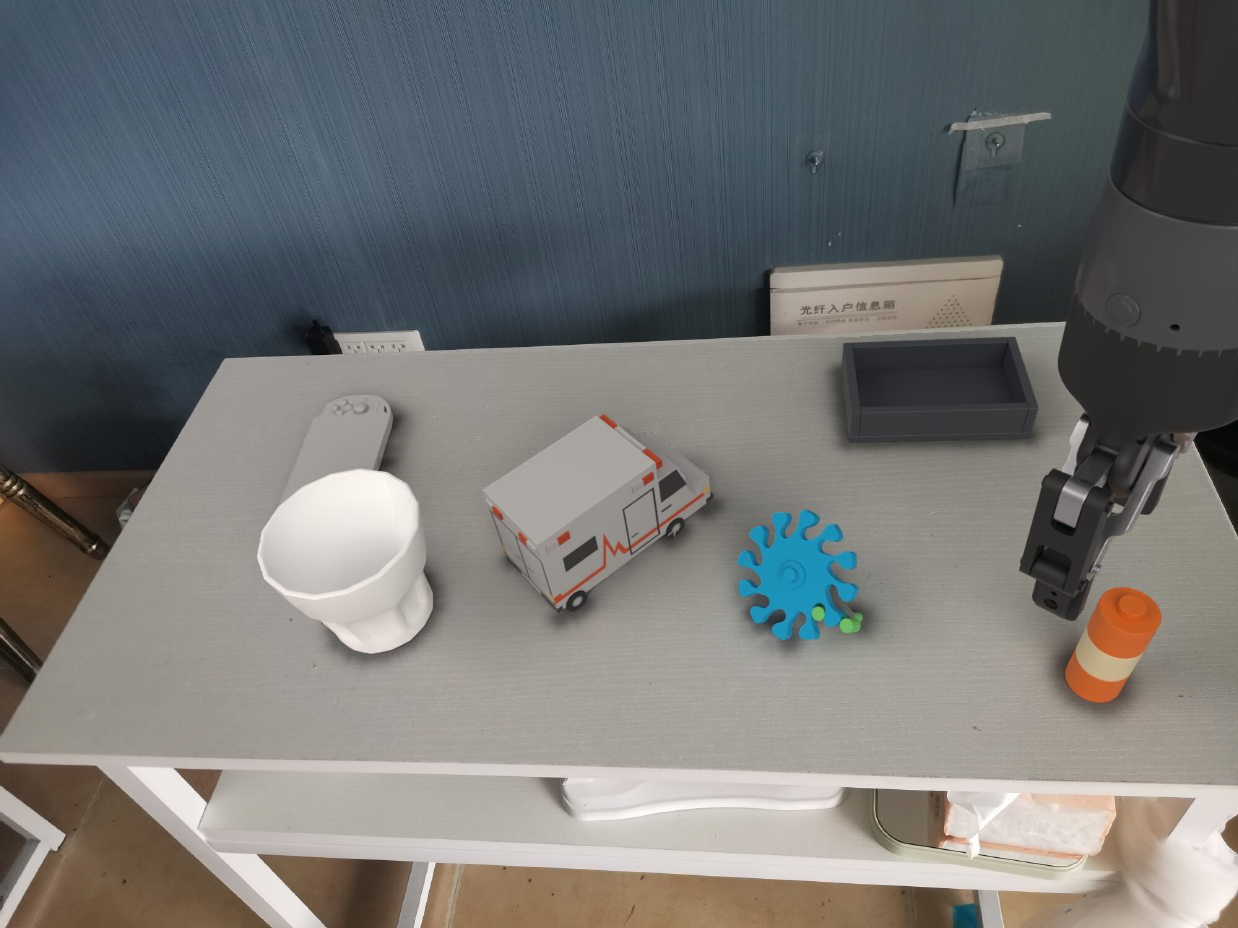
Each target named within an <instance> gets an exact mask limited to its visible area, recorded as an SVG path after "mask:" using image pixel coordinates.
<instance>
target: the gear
mask: <svg viewBox="0 0 1238 928" xmlns="http://www.w3.org/2000/svg"><path fill="white" fill-rule="evenodd" d="M820 519H821V518H820V516H819V515H818V514H817V513H815V512H814V511H812V510H810V509H802V510H801V511H800V512H799V515H798V523H797V527H796V528H795V530H794V531H793V533H792V534H791V535H790V536H789V537H787V535H786V534H787V533H786V530H787V528H788V527H789V526H790V525H791V523H792V522H793V516H792V514H791V513H789V512H782V511H778V512H773V513H772V515H771V522H772V523H773V525H774V531H775V534H774V535H775V536H774V540H773V544H772V546H770V545H769V542H768V541H769V537H770V531H769V528H768V527H767V526H766V525H757V526H755V527H753V528H752V529H751V530H750V531H749V533H748V535H749V537H750V539H751V540H752V541H754V543H756V544H757V545H758V548H759V550H760V553H761V556H762V557H761V558H762V562H761V564H759V562H758V560H757V556H756V554H755V552H754V551H753V550H749V549H747V550H746V549H744V550H742V551H741V552H740V554H739V556H738V558H737V561H736V562H737V564H738V566H740V567H743V568H748V569H751V570H752V571H753V572H755V573H756V575H757V576H758V577H759V578H760V584H759V586H758V585H757V584H756V583H755V582H754V581H753V580H751V579H741V580H739V582H738V595H739V596H740V597H752V596H753V595H756V594H759V595H760V594H761V595H763V596H765V597H767V598H768V600H769V602H768V603H769V604H768V606H767V607H766V606H763V605H755V606H752V607H751V608H750V609H749V613H750V616H751V618H752V620H753V622H754V623H755V624H764V623H766V622H767V621H768V620H769V618H770V617H771V615H772V614H774V613H775V612H777V611H779V610H780V611H781V610H782V611H783V612H784V613H785V619H784V620H783V621H780V622H777V623H775V624H773V626H772V627H771V632H772V634H773V635H774V636H775V637H777V638H778V639H780V640H782V641H785V640H789V639H790V638H791V637H792V635H793V628H794V623H795V621H796V619H797V618H798V617H799V616H800V615H801V614H802V613H803V614H804V615H805V618H806V620H805V622H804V624H803V625H802V626H801V627H800V628H799V631H798V633H799V634H798V635H799V638H800V639H802V640H806V641H810V640H812V641H813V640H819V639H820V637H821V630H820V629H819V625H818V622H821V621H823V622H824V625H825V626H826V627H827V628H834V629H837V630H839V631H841V632H842V633H844V634H852V633H857V632H859V631H860V629H861V626H862V625H861V622H862V621H863V618H864V617H863V614H862V613H861V612H859V611H858V612H857V611H856V612H854V611H853V610H852V609H851V607H849V606H848V604H847V603H846V602H848V603H849V602H853V601H854V600H855V598H856V597H857V596H858V594H859V591H860V587H859V586H858V585H857V584H855V583H851V582H846V581H843V580H842V579H840V578H839V577H838V576H837V575H836V573H834V571H833V570H832V566H833V564H834V563H837V564H838V566H839V567H841V568H842V569H844V570H855V569H856V568H857V565H858V556H857V555H858V554H857V553H856V552H855V551H842V552H841V553H838V554H835V555H834V554H830V553H826V552H825V550H823V544H824V543H825V542H826V541H827V542H831V543H833V542H834V543H839V542H841V541H843V540H844V538H845V536H844V533H843V531H842V528H840V526H839V525H838V523H829V524H827V525H826V526H825V527H824V529H823V530H822V531H821V533H820V534H819V535H817V536H816V537H814V538H811V539H808V538H807V536H806V532H807V530H808V529H809V528H812V527H816V526H817V525H819V522H820ZM833 586H835V587H836V590H837V592H836V591H835V590H834V589H833V588H832V587H833Z"/></svg>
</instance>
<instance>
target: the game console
mask: <svg viewBox="0 0 1238 928" xmlns="http://www.w3.org/2000/svg"><path fill="white" fill-rule="evenodd" d="M393 422H394V413H393V411H392V408H391V407H390V404H389V403H388V401H386V400H385V399H384V398H382V397H381V396H377V395H374V394H354V395H347V396H342V397H339V398H336V399H334V400H332V401H330V402H327V403H326V404H324V406H323V409H322V410H321V412H320V414H318V415H317V416H316V417H314V418H313V419H311V422H310V424H309V427H308V429H307V432H306V434H305V436H304V439H303V442H302V444H301V446H300V449H299V451H298V454H297V456H296V459H295V462H294V464H293V467H292V470H291V471H290V474H289V477H288V479H287V482H286V484H285V487H284V489H283V492H282V495H281V497H280V499H279V502H278V505H277V508H278V507H279V506H280V505H281V504H282V503H283V502H285V501H286V500H287V499H288V498H289V497H291V496H292V495H293V494H294V493H295V492H297V491H298V490H299V489H300V488H301V487H303V486H305V485H307V484H310V483H312V482H314V481H316V480H318V479H321V478H323V477H325V476H327V475H329V474H333V473H338V472H344V471H349V470H354V469H367V470H375V471H380V467H381V464H382V460H383V457H384V454H385V453H384V452H385V450H386V447H387V444H388V441H389V437H390V434H391V430H392V428H393Z"/></svg>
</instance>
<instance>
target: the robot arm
mask: <svg viewBox="0 0 1238 928" xmlns="http://www.w3.org/2000/svg"><path fill="white" fill-rule="evenodd" d="M1147 15H1148V16H1147V27H1146V31H1145V35H1144V38H1143V40H1142V44H1141V47H1140V49H1139V53H1138V56H1137V59H1136V62H1135V65H1134V67H1133V69H1132V73H1131V78H1130V81H1129V85H1128V88H1127V93H1126V98H1125V102H1124V107H1123V110H1122V115H1121V119H1120V123H1119V126H1118V130H1117V131H1118V132H1117V136H1116V140H1115V144H1114V148H1113V152H1112V157H1111V161H1110V165H1109V168H1108V170H1107V175H1106V178H1105V180H1104V184H1103V187H1102V189H1101V192H1100V193H1099V196H1098V198H1097V201H1096V203H1095V206H1094V209H1093V212H1092V214H1091V216H1090V219H1089V223H1088V227H1087V229H1086V234H1085V238H1084V243H1083V247H1082V251H1081V255H1080V260H1079V264H1078V268H1077V271H1076V277H1075V280H1074V286H1073V289H1072V294H1071V299H1070V303H1069V306H1068V307H1069V308H1068V312H1067V315H1066V320H1065V325H1064V329H1063V334H1062V337H1061V342H1060V346H1059V351H1058V355H1057V369H1058V374H1059V377H1060V380H1061V382H1062V384H1063V386H1064V387H1065V389H1066V390H1067V391H1068V393H1069V394H1070V395H1071V396H1072V397H1073V398H1074V399H1075V400H1076V402H1077V403H1078V404H1079V405H1080V407H1082V409H1083V410H1084V412H1082V414H1081V415H1080V417H1079V419H1078V420H1077V422H1076V424H1075V426H1074V429H1073V431H1072V433H1071V435H1070V437H1069V440H1068V445H1069V449H1070V450H1069V454H1068V456H1067V458H1066V460H1065V462H1064V464H1063V466H1062V469H1061V470H1060V469H1057V468H1055V467H1054V468H1052V469H1051V470H1050V471H1049V472H1048V473H1047V474H1045V476H1044V477H1043V478H1042V480H1041V483H1040V486H1041V488H1040V491H1039V495H1038V499H1037V502H1036V506H1035V509H1034V513H1033V517H1032V521H1031V525H1030V528H1029V531H1028V535H1027V539H1026V543H1025V545H1024V550H1023V552H1022V553H1023V554H1022V556H1021V558H1020V560H1019V569H1018V571H1019V572H1020V573H1023V575H1027V576H1029V577H1031V578H1032V579H1035V583H1034V585H1033V589H1032V594H1031V599H1032V601H1033V602H1034V605H1035V606H1036V607H1038V608H1040V609H1043V610H1045V611H1047V612H1049V613H1050V614H1053V615H1055V616H1056V617H1059V618H1061V619H1062V620H1066V621H1070V622H1074V621H1077V619H1078V618H1079V616H1080V615H1081V614H1082V612H1083V611H1084V609H1085V607H1086V603H1087V601H1088V600H1087V599H1088V598H1089V595H1090V592H1091V588H1092V585H1093V582H1094V580H1095V576H1098V575H1099V573H1100V571H1101V570H1102V568H1103V565H1102V562H1103V560H1104V558H1105V555H1106V554H1107V552H1108V550H1109V548H1110V546H1111V544H1112V542H1113V540H1114V538H1115V537H1121V536H1123V535H1126V534H1128V533H1130V532H1131V531H1132V530H1133V529H1134V527H1135V525H1136V523H1137V520H1138V518H1139V517H1140V515H1143V516H1149V515H1151V514H1153V511H1154V510H1155V509H1156V507H1158V504H1159V502H1160V499H1161V497H1162V494H1163V492H1164V489H1165V486H1166V484H1167V481H1168V478H1169V476H1170V473H1171V471H1172V469H1173V466H1174V463H1175V460H1178V459H1179V458H1180V456H1181V455H1184V454H1187V452H1188V451H1189V449H1190V447H1191V445H1192V444H1193V442H1194V440H1195V439H1196V436H1197V435H1198V433H1202V432H1207V431H1211V430H1216V429H1218V428H1221V427H1225V426H1227V425H1229V424H1231V423H1234V422H1235V421H1237V420H1238V0H1148V13H1147ZM1115 505H1118V506H1121V507H1122V510H1121V511H1120V512H1113V509H1114V506H1115Z"/></svg>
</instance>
